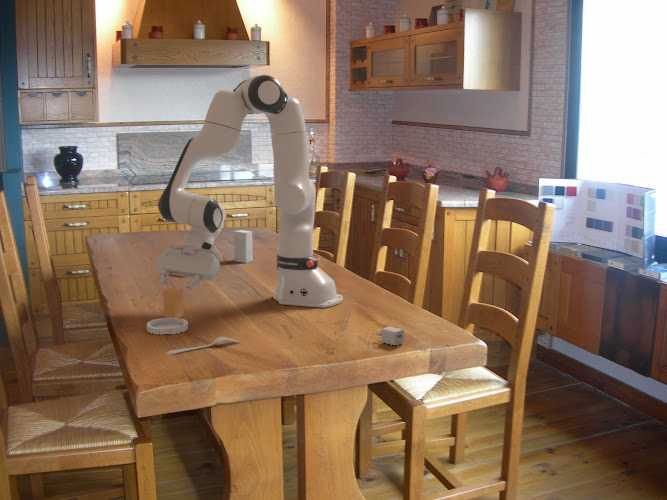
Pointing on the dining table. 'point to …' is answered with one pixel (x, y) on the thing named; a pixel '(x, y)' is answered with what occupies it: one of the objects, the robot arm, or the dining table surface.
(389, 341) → the usb wall charger
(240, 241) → the skincare box
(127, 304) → the dining table surface
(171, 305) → the wooden toy brick
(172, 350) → the fork
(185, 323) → the ring dish
